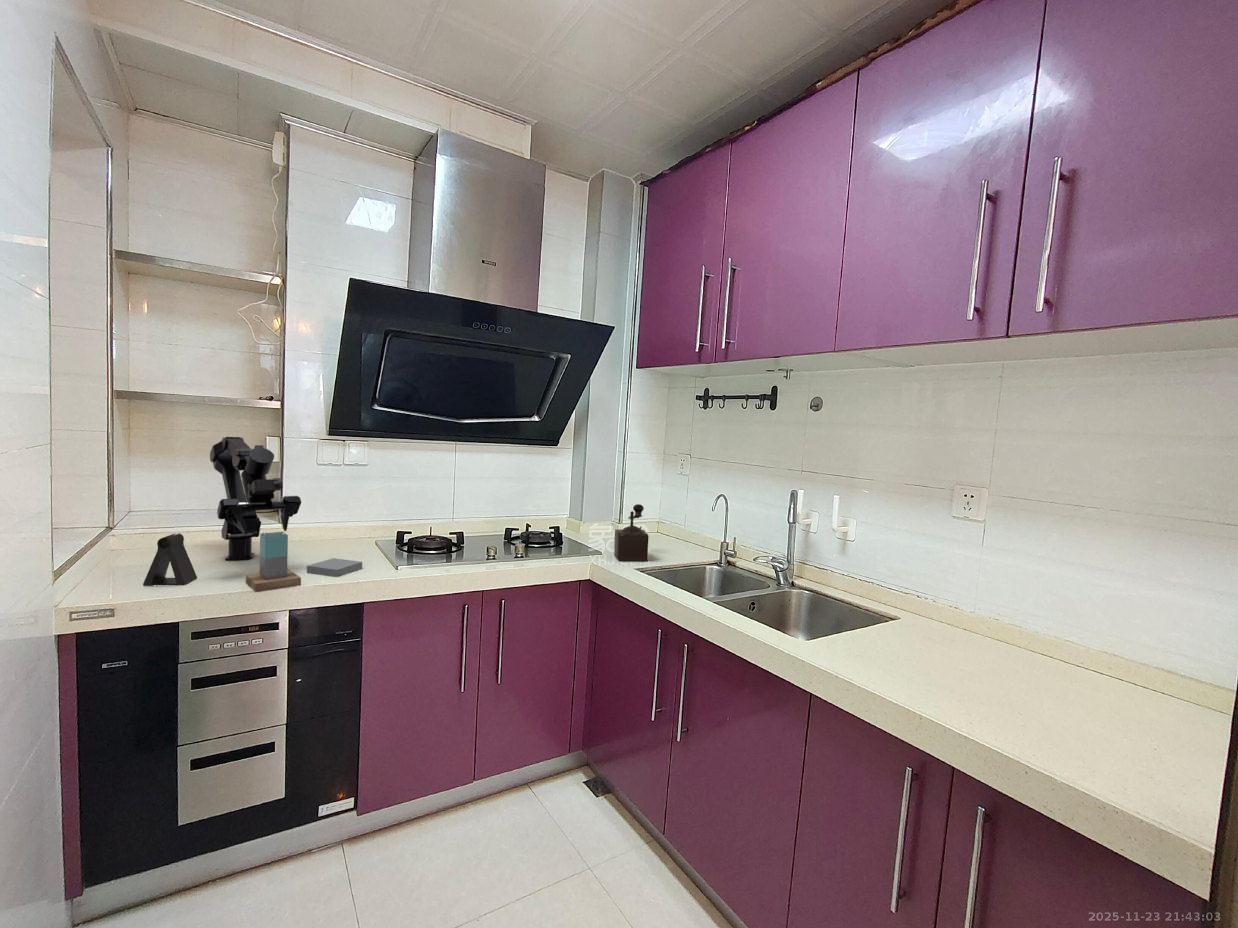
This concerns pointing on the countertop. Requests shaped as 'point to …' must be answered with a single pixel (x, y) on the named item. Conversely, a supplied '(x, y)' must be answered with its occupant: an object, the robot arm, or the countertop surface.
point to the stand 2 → (334, 567)
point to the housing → (273, 555)
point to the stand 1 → (272, 581)
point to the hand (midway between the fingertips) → (266, 531)
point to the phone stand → (175, 554)
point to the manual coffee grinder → (631, 540)
